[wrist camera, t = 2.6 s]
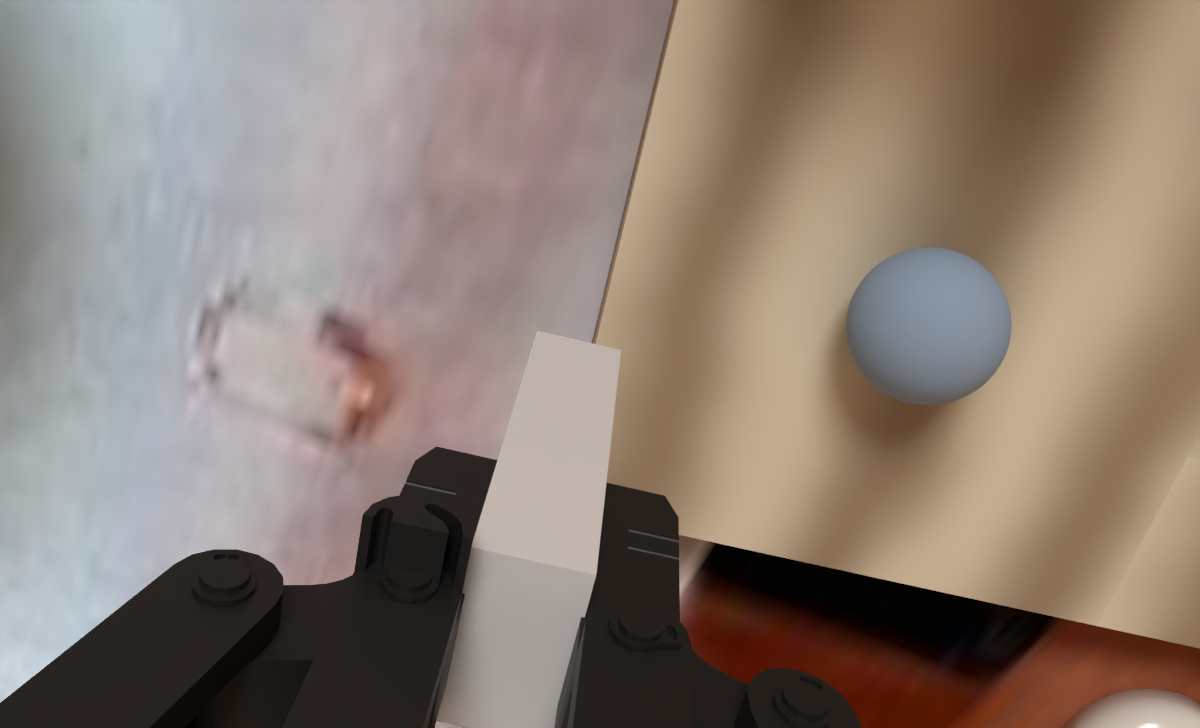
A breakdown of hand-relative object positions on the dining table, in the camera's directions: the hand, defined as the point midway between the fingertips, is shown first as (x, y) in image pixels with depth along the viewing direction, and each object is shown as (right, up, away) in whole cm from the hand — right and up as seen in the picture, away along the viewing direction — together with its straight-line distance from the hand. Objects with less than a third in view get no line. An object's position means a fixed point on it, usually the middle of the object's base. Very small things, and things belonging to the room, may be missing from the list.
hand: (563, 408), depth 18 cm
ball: (+9, +2, +8) cm, 12 cm away
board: (+15, +2, +13) cm, 20 cm away
